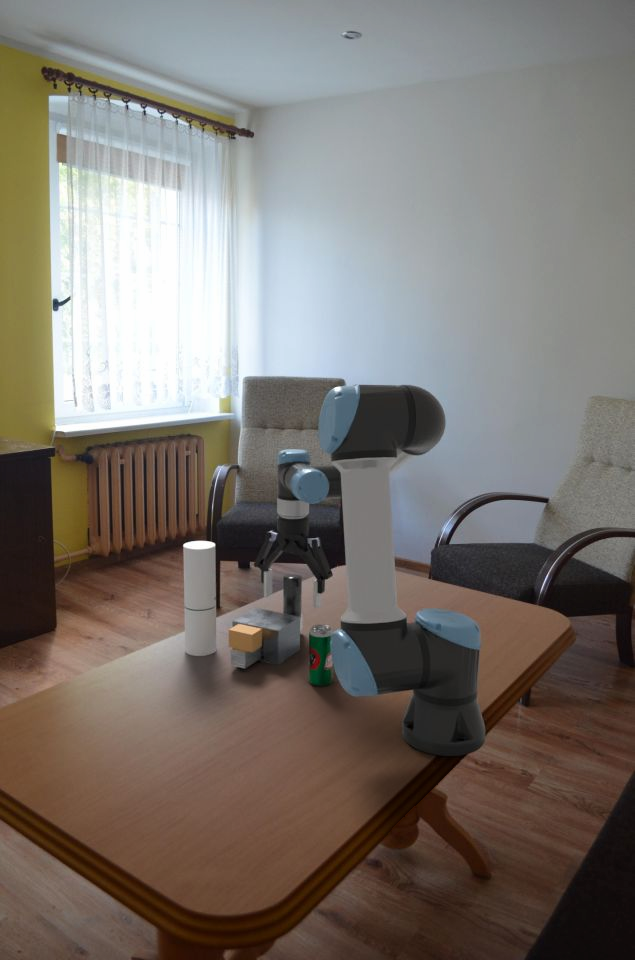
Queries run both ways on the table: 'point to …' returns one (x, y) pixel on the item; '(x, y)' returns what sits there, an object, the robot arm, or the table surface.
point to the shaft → (290, 606)
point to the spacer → (245, 637)
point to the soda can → (320, 655)
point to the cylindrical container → (200, 597)
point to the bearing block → (274, 633)
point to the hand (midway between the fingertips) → (292, 600)
